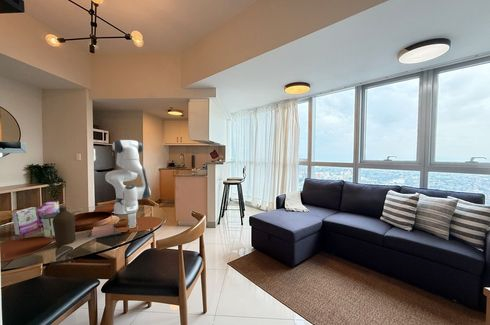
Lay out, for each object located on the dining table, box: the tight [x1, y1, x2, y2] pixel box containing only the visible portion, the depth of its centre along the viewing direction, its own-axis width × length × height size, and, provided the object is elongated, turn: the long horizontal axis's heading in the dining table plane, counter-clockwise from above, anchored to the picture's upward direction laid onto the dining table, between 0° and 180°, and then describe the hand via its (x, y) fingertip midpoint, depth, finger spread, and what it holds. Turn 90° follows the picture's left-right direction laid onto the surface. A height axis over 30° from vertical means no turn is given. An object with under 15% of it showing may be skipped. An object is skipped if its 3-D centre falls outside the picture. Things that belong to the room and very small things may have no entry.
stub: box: [127, 220, 137, 228], centre depth 153 cm, size 5×5×5 cm
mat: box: [89, 230, 122, 240], centre depth 147 cm, size 12×28×1 cm, turn 120°
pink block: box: [91, 223, 115, 237], centre depth 144 cm, size 7×12×4 cm, turn 120°
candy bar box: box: [11, 206, 40, 236], centre depth 146 cm, size 11×5×16 cm, turn 168°
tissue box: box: [42, 212, 59, 237], centre depth 142 cm, size 10×10×14 cm
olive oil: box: [52, 204, 77, 247], centre depth 130 cm, size 11×11×25 cm
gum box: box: [36, 200, 60, 227], centre depth 165 cm, size 24×8×14 cm, turn 27°
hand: (132, 225), depth 153 cm, fingers open, 8 cm apart
